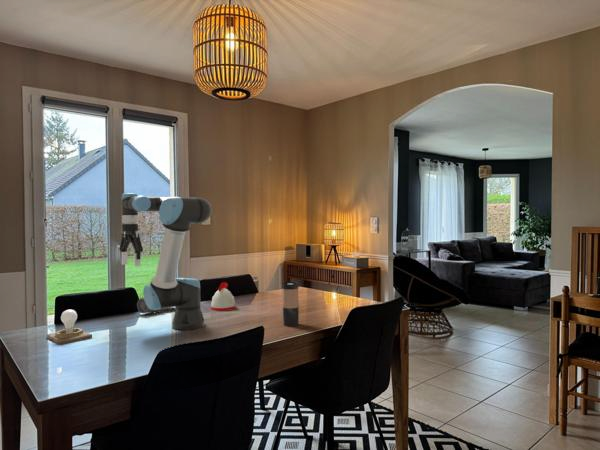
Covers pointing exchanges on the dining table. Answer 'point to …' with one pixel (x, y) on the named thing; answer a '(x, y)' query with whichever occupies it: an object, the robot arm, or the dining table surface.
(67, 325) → the lightbulb
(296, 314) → the travel mug
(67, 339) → the socket
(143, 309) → the bluetooth speaker
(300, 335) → the dining table surface
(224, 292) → the white dome
